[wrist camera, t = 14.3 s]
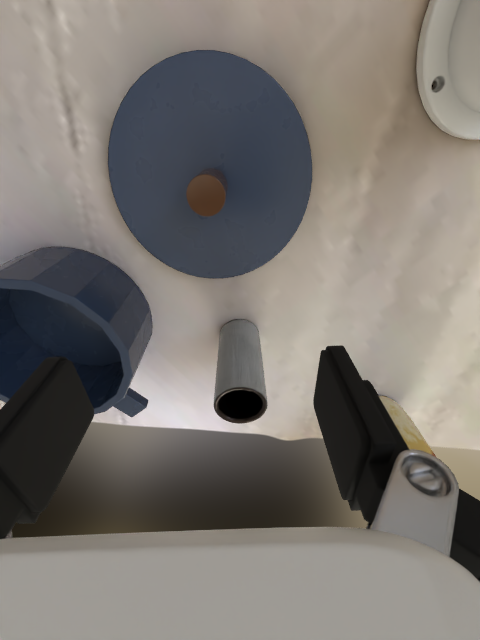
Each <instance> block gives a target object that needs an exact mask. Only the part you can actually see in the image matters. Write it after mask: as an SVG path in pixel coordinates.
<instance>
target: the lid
mask: <svg viewBox="0 0 480 640" xmlns="http://www.w3.org/2000/svg"><path fill="white" fill-rule="evenodd" d="M108 166H109V177H110V182H111V187H112V191H113V195H114V198H115V201H116V204H117V206H118V209H119V211H120V213H121V215H122V217H123V219H124V221H125V223H126V224H127V226H128V227H129V229H130V231H131V232H132V233H133V235H134V236H135V237H136V239H137V240H138V241H139V242H140V243H141V244H142V245H143V246H144V247H145V248H146V249H147V250H148V251H149V252H150V253H151V254H152V255H154V256H155V257H156V258H157V259H159V260H160V261H162V262H163V263H165V264H166V265H168V266H170V267H172V268H174V269H176V270H178V271H181V272H183V273H186V274H189V275H193V276H197V277H203V278H228V277H234V276H238V275H242V274H245V273H248V272H250V271H253V270H255V269H257V268H259V267H260V266H262V265H264V264H265V263H267V262H268V261H270V260H271V259H272V258H274V257H275V256H276V255H277V254H278V253H279V252H280V251H281V250H282V249H283V248H284V247H285V246H286V244H287V243H288V242H289V241H290V239H291V238H292V236H293V235H294V234H295V232H296V230H297V228H298V227H299V225H300V223H301V221H302V218H303V216H304V213H305V211H306V208H307V204H308V200H309V196H310V191H311V183H312V158H311V149H310V145H309V140H308V136H307V132H306V130H305V127H304V124H303V121H302V119H301V117H300V115H299V113H298V111H297V109H296V107H295V105H294V103H293V102H292V100H291V99H290V98H289V96H288V95H287V93H286V92H285V90H284V89H283V88H282V87H281V86H280V85H279V84H278V83H277V82H276V81H275V80H274V79H273V78H272V77H271V76H270V75H269V74H267V73H266V72H265V71H264V70H262V69H261V68H260V67H258V66H256V65H255V64H253V63H251V62H249V61H248V60H246V59H243V58H241V57H238V56H236V55H233V54H230V53H225V52H220V51H215V50H196V51H190V52H184V53H180V54H177V55H174V56H172V57H169V58H166V59H165V60H163V61H161V62H159V63H158V64H156V65H154V66H153V67H151V68H150V69H149V70H148V71H146V72H145V73H144V74H143V75H142V76H141V77H140V78H139V79H138V80H137V81H136V82H135V83H134V85H133V86H132V87H131V88H130V89H129V91H128V93H127V94H126V96H125V97H124V99H123V101H122V102H121V104H120V107H119V109H118V111H117V114H116V116H115V119H114V122H113V126H112V129H111V134H110V141H109V147H108Z"/></svg>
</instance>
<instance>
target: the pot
mask: <svg viewBox="0 0 480 640" xmlns="http://www.w3.org/2000/svg"><path fill="white" fill-rule="evenodd" d="M151 335H152V316H151V311H150V308H149V305H148V303H147V301H146V299H145V297H144V295H143V293H142V292H141V290H140V289H139V287H138V286H137V285H136V284H135V283H134V281H133V280H132V279H131V278H130V277H129V276H128V275H127V274H125V273H124V272H123V271H122V270H121V269H119V268H118V267H117V266H115V265H114V264H112V263H110V262H109V261H107V260H105V259H103V258H101V257H99V256H97V255H95V254H92V253H89V252H87V251H83V250H79V249H75V248H68V247H47V248H40V249H37V250H34V251H31V252H29V253H27V254H24V255H22V256H19V257H16V258H14V259H13V260H11V261H9V262H7V263H5V264H3V265H1V266H0V400H2V401H3V402H5V403H7V402H8V401H9V399H10V398H11V397H12V396H13V395H14V394H15V393H16V391H17V390H18V389H19V388H20V387H21V386H22V385H23V383H24V382H25V381H26V380H27V379H28V378H29V377H30V375H31V374H32V373H33V372H34V371H35V370H36V369H37V368H38V366H39V365H40V364H41V363H42V362H43V361H44V360H45V359H46V358H48V357H66V358H67V359H68V360H70V361H72V363H73V365H74V367H75V369H76V371H77V373H78V375H79V378H80V380H81V382H82V384H83V386H84V388H85V391H86V393H87V395H88V397H89V399H90V401H91V404H92V406H93V408H94V414H97V413H101V412H105V411H107V410H108V409H109V408H111V407H112V406H114V407H115V408H117V409H119V410H120V411H122V412H124V413H125V414H127V415H129V416H130V417H133V416H135V415H136V414H138V413H139V412H140V411H142V410H143V409H145V408H146V407H147V404H148V400H147V399H146V398H144V397H143V396H141V395H140V394H138V393H137V392H135V391H134V390H132V389H131V388H129V386H130V384H131V381H132V379H133V377H134V375H135V372H136V370H137V368H138V365H139V363H140V361H141V359H142V356H143V354H144V352H145V349H146V347H147V344H148V342H149V340H150V337H151Z"/></svg>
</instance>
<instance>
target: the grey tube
mask: <svg viewBox="0 0 480 640" xmlns="http://www.w3.org/2000/svg"><path fill="white" fill-rule="evenodd" d="M214 409H215V411H216V413H217V414H218V415H219V416H220V417H221V418H222V419H224V420H226V421H229V422H232V423H248V422H252V421H254V420H257V419H258V418H260V417H261V416H262V415H263V414H264V413H265V411H266V409H267V396H266V388H265V379H264V371H263V362H262V354H261V345H260V337H259V332H258V329H257V328H256V326H255V325H254V324H252V323H251V322H249V321H246V320H233V321H230V322H228V323H227V324H226V325H224V327H223V328H222V330H221V332H220V338H219V349H218V361H217V372H216V384H215V395H214Z"/></svg>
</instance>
